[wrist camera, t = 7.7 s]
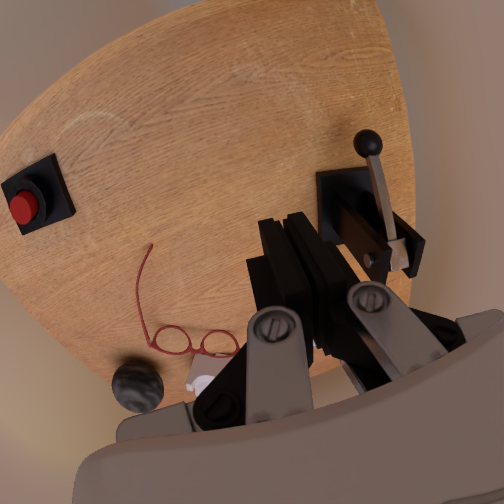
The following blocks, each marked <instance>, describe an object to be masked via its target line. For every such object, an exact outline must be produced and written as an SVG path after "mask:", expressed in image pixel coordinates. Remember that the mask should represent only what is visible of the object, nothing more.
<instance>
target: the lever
mask: <svg viewBox="0 0 504 504" xmlns="http://www.w3.org/2000/svg"><path fill="white" fill-rule="evenodd" d="M353 145H354V148H355V151H356V152H357V153H358V154H359V155H360V156H361V157H363V158H365V159H366V163H367V167H368V170H369V174H370V178H371V182H372V186H373V191H374V195H375V199H376V204H377V209H378V214H379V219H380V224H381V229H382V235H383V239H384V240H385V241H386V242H387V244H388V245H389V246H390V247H391V248H392V249H393V250H392V256H391V261H390V266H389V272H393V271H397V270H400V269H403V268H407V267H409V261H408V253H407V246H406V239H405V238H397V235H396V229H395V224H394V218H393V213H392V208H391V204H390V199H389V194H388V190H387V186H386V182H385V178H384V174H383V170H382V166H381V162H380V159H379V154H380V153H381V151H382V148H383V143H382V139H381V137H380V136H379V135H378V134H377V133H376V132H375V131H373V130H369V129H364V130H361V131H359V132H358V133H357V134H356V135H355V137H354V141H353Z"/></svg>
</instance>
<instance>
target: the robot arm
mask: <svg viewBox="0 0 504 504" xmlns="http://www.w3.org/2000/svg"><path fill="white" fill-rule="evenodd" d="M258 225H259V231H260V236H261V241H262V247H263V252H264V255H263V256H259V257H255V258H250V259H246V262H247V267H248V271H249V276H250V280H251V285H252V289H253V294H254V298H255V303H256V307H257V313H255V314H254V315H253V316H252V318H251V319H250V321H249V323H248V327H247V342H246V343H245V344H244V345H243V347H242V348H241V349H240V350H239V351H238V352H237V353H236V355H235V356H234V357H233V358H232V359H231V360H230V361H229V362H228V364H227V365H226V366H225V367H224V368H223V369H222V370H221V371H220V372H219V374H218V375H217V376H216V377H215V378H214V379H213V380H212V381H211V382H210V383H209V384H208V386H207V387H206V388H205V389H204V390H203V391H202V392H201V393H200V394H199V395H198V397H197V398H196V400H195V401H192V402H189V403H185V402H184V401H183V402H180V403H177V404H174V405H170V406H167V407H164V408H160V409H157V410H154V411H150V412H147V413H143V414H139V415H136V416H132V417H129V418H127V419H124V420H123V421H122V422H121V423H120V424H119V426H118V428H117V431H116V442H117V443H114V444H111V445H108V446H106V447H104V448H101V449H99V450H97V451H95V452H94V453H92V454H90V455H89V456H88V457H87V458H85V459H84V461H83V462H82V463H81V465H80V467H79V468H78V471H77V474H76V478H75V482H74V488H73V497H72V504H504V313H503V312H502V311H500V310H497V309H491V310H488V311H484V312H481V313H477V314H473V315H469V316H465V317H460V318H456V320H455V322H453V321H452V320H449V319H447V318H444V317H440V316H437V315H433V314H430V313H427V312H423V311H420V310H417V309H413V308H410V307H407V306H406V304H405V303H404V302H403V301H402V300H401V299H400V298H399V297H398V296H397V295H396V294H395V293H394V292H393V291H392V290H391V289H390V288H389V287H387V286H386V285H385V284H382V283H380V282H376V281H363V282H360V280H359V279H358V277H357V276H356V274H355V273H354V271H353V270H352V268H351V267H350V265H349V264H348V262H347V261H346V260H345V258H344V257H343V255H342V254H341V252H340V251H339V250H338V248H337V247H336V245H335V244H334V243H333V241H332V240H327V241H323V240H322V239H321V238H320V236H319V235H318V233H317V232H316V230H315V229H314V227H313V226H312V224H311V223H310V221H309V220H308V219H307V217H306V216H305V214H304V213H303V212H297V213H292V214H288V215H287V219H283V226H284V229H283V227H282V225H281V223H280V221H279V220H278V221H274V220H273V218H269V219H265V220H260V221H258ZM313 340H314V342H315V345H316V347H317V349H320V348H322V349H323V351H324V354H325V356H327V355H330V354H331V355H332V357H335V358H337V359H340V363H341V365H342V367H343V369H344V370H345V372H346V374H347V375H348V377H349V378H350V380H351V382H352V383H353V385H354V386H355V388H356V390H357V391H358V393H359V395H357V396H354V397H351V398H348V399H346V400H343V401H340V402H337V403H334V404H331V405H327V406H324V407H321V408H317V409H314V407H313V399H312V391H311V384H310V376H309V368H310V366H311V365H312V363H313Z"/></svg>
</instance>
